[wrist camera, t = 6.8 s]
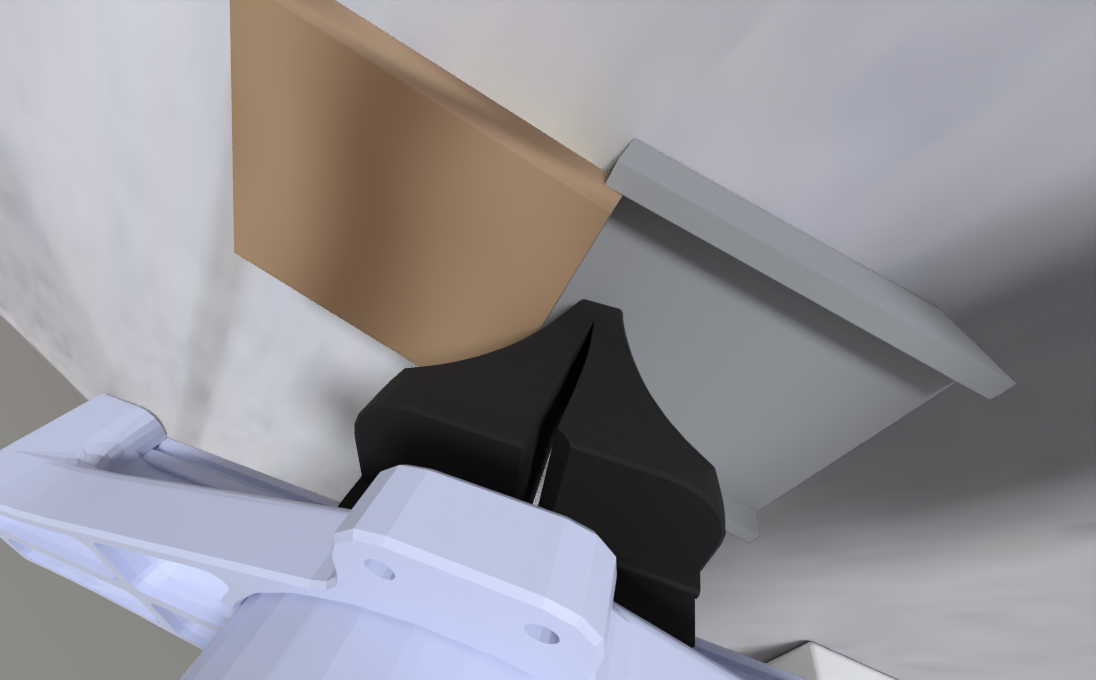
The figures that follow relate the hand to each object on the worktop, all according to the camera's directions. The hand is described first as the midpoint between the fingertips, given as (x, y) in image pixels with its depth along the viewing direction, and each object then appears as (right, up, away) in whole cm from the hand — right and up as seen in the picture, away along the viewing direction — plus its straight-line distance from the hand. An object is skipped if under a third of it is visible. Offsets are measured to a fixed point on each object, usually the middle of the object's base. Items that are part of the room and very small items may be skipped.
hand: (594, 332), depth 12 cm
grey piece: (+4, 0, +3) cm, 5 cm away
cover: (-5, +4, 0) cm, 6 cm away
